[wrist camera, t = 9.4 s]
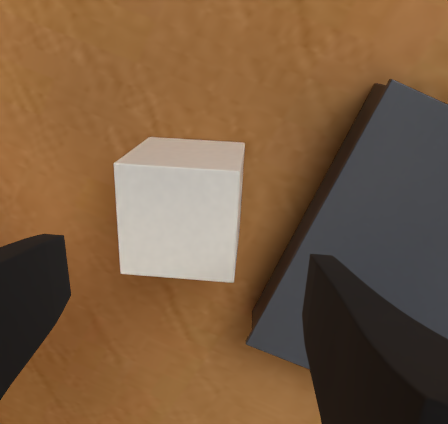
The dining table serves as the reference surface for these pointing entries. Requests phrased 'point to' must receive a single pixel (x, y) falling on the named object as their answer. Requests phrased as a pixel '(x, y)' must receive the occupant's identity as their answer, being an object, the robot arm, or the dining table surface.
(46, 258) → the robot arm
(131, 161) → the white box
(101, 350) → the dining table surface
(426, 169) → the dark grey rectangular slab
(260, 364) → the dining table surface
